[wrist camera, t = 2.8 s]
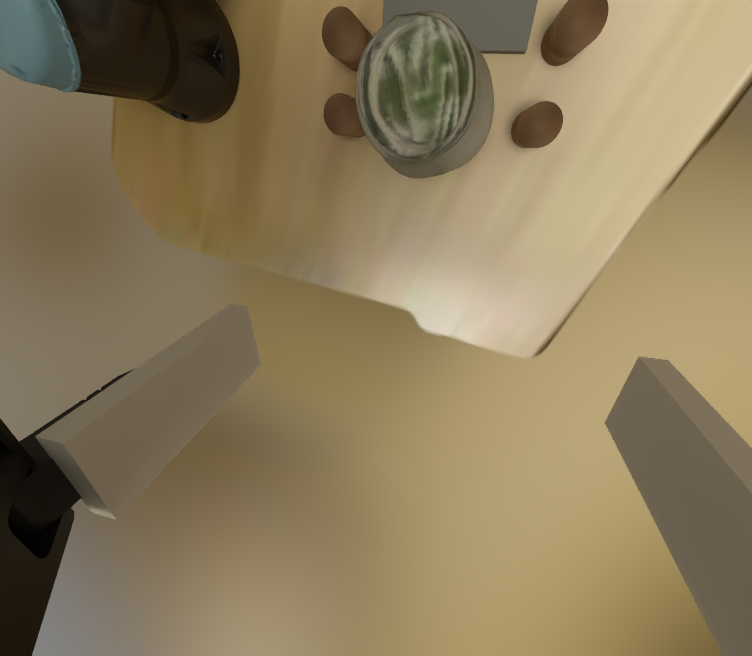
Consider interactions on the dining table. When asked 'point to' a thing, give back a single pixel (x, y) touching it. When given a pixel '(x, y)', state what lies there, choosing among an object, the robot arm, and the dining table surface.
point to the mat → (479, 20)
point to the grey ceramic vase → (424, 94)
